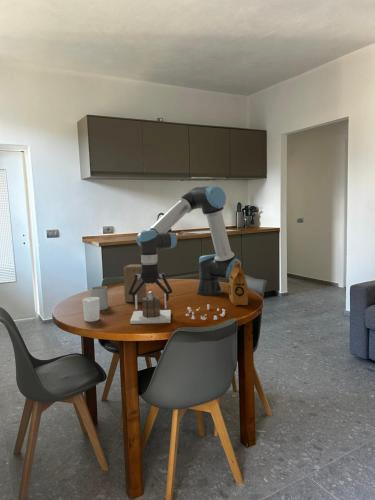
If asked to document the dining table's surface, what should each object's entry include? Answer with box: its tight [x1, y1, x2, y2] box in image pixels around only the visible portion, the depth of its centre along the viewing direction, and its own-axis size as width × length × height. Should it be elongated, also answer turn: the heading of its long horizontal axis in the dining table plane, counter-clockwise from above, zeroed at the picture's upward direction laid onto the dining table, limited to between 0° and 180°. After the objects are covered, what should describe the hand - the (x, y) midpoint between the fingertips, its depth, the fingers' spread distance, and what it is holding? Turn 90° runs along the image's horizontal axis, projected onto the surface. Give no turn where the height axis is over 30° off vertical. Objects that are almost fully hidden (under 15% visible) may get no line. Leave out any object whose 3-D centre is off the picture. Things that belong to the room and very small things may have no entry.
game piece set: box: [185, 303, 226, 321], centre depth 179 cm, size 19×20×4 cm
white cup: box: [81, 296, 101, 322], centre depth 175 cm, size 8×8×10 cm
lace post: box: [147, 291, 154, 300], centre depth 174 cm, size 2×2×11 cm
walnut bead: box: [141, 295, 161, 318], centre depth 175 cm, size 8×8×8 cm
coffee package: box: [228, 261, 249, 307], centre depth 197 cm, size 10×12×22 cm
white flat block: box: [129, 309, 172, 325], centre depth 175 cm, size 18×16×2 cm
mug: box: [90, 285, 109, 311], centre depth 196 cm, size 12×8×11 cm
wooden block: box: [123, 263, 147, 303], centre depth 209 cm, size 10×10×20 cm
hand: (151, 308), depth 175 cm, fingers open, 13 cm apart
